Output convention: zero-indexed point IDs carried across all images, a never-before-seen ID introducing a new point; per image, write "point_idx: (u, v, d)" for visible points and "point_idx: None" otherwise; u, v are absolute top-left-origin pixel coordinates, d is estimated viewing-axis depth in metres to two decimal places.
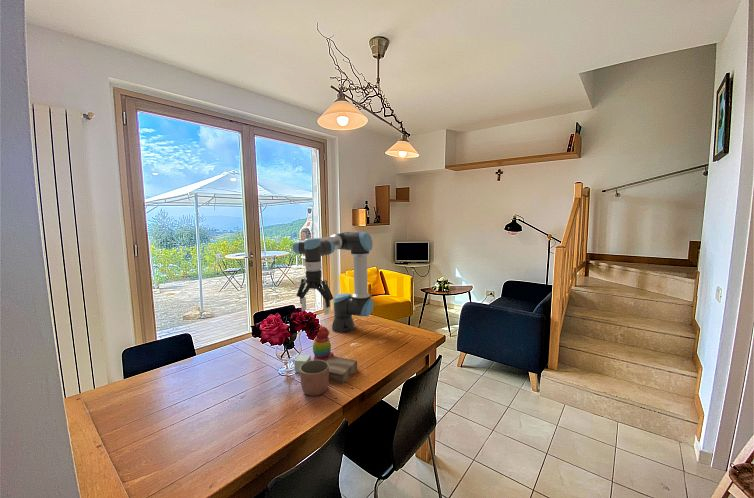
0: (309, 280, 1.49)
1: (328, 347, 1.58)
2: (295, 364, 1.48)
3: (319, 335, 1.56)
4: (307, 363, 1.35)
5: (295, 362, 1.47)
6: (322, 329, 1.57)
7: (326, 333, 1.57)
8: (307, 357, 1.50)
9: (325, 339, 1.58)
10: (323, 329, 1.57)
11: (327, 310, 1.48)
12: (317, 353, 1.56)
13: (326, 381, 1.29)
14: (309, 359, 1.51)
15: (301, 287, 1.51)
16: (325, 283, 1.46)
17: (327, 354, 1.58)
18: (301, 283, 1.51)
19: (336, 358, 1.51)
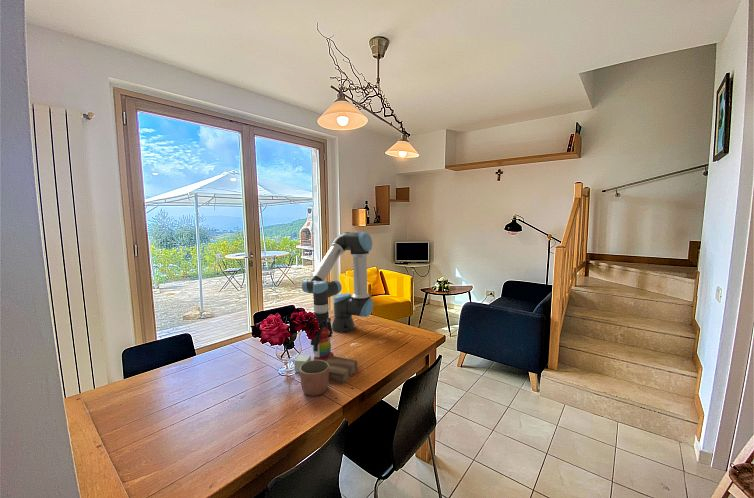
0: None
1: (328, 347, 1.58)
2: (295, 364, 1.48)
3: None
4: (307, 363, 1.35)
5: (295, 362, 1.47)
6: None
7: (326, 333, 1.57)
8: (307, 357, 1.50)
9: (325, 339, 1.58)
10: (323, 329, 1.58)
11: (317, 354, 1.56)
12: None
13: (326, 381, 1.29)
14: (309, 359, 1.51)
15: None
16: None
17: (327, 354, 1.58)
18: None
19: (336, 358, 1.51)
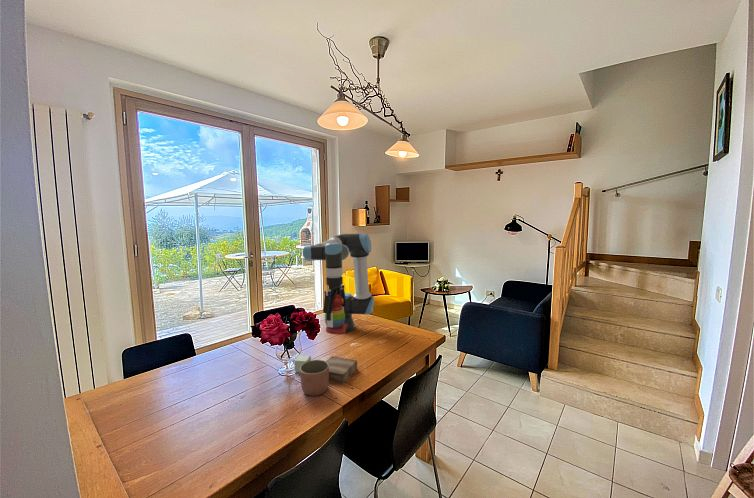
0: None
1: (342, 316, 1.40)
2: (295, 364, 1.48)
3: None
4: (307, 363, 1.35)
5: (295, 362, 1.47)
6: None
7: (340, 300, 1.40)
8: (307, 357, 1.50)
9: (339, 307, 1.40)
10: (337, 296, 1.40)
11: (329, 323, 1.38)
12: None
13: (326, 381, 1.29)
14: (309, 359, 1.51)
15: None
16: (326, 294, 1.35)
17: (341, 324, 1.41)
18: None
19: (336, 358, 1.51)
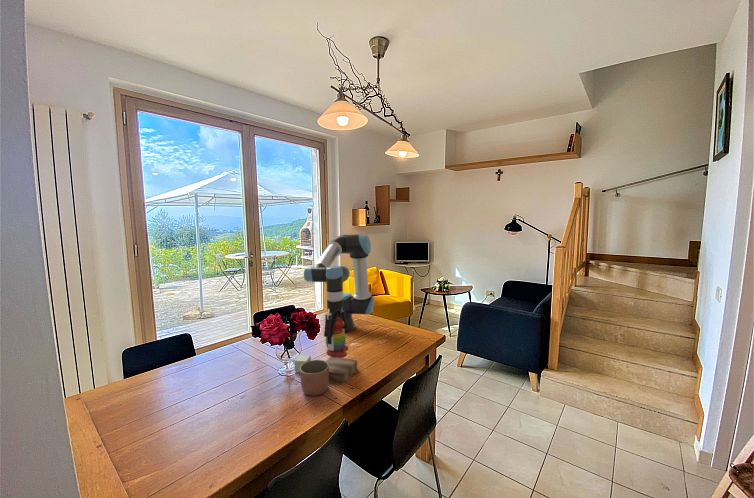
0: None
1: (343, 339, 1.42)
2: (295, 364, 1.48)
3: None
4: (307, 363, 1.35)
5: (295, 362, 1.47)
6: None
7: (341, 324, 1.41)
8: (307, 357, 1.50)
9: (339, 330, 1.41)
10: (337, 319, 1.41)
11: (330, 347, 1.39)
12: None
13: (326, 381, 1.29)
14: (309, 359, 1.51)
15: None
16: (327, 318, 1.37)
17: (342, 347, 1.42)
18: None
19: (336, 358, 1.51)
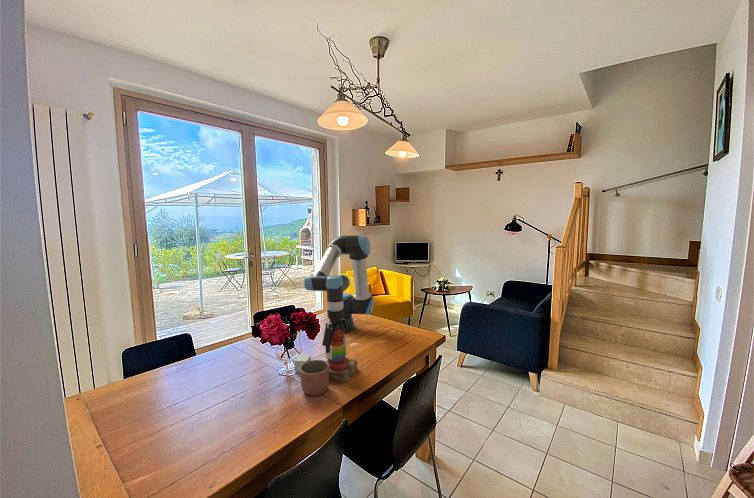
0: None
1: (344, 351, 1.43)
2: (295, 364, 1.48)
3: (333, 338, 1.41)
4: (307, 363, 1.35)
5: (295, 362, 1.47)
6: (337, 331, 1.42)
7: (342, 335, 1.42)
8: (307, 357, 1.50)
9: (340, 342, 1.42)
10: (338, 331, 1.42)
11: (329, 355, 1.38)
12: None
13: (326, 381, 1.29)
14: (309, 359, 1.51)
15: None
16: (327, 326, 1.37)
17: (342, 359, 1.43)
18: None
19: None
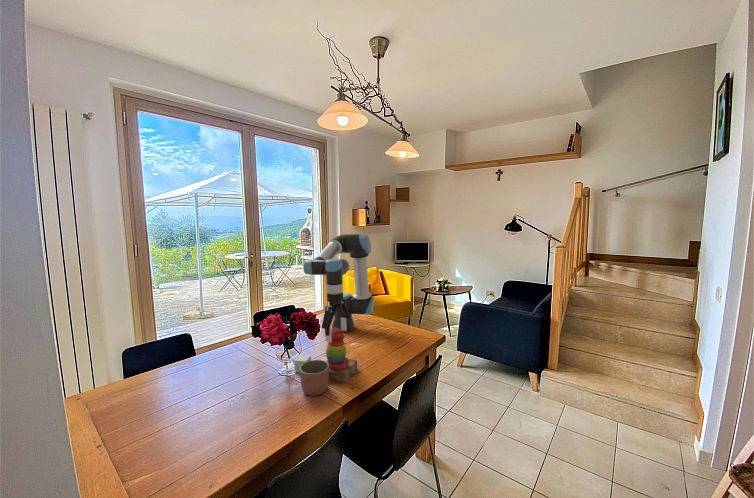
0: None
1: (343, 351, 1.42)
2: (295, 364, 1.48)
3: (333, 339, 1.41)
4: (307, 363, 1.35)
5: (295, 362, 1.47)
6: (337, 331, 1.42)
7: (341, 336, 1.42)
8: (307, 357, 1.50)
9: (340, 342, 1.42)
10: (338, 331, 1.42)
11: (328, 338, 1.37)
12: (331, 358, 1.41)
13: (326, 381, 1.29)
14: (309, 359, 1.51)
15: None
16: (326, 309, 1.36)
17: (342, 359, 1.43)
18: None
19: None
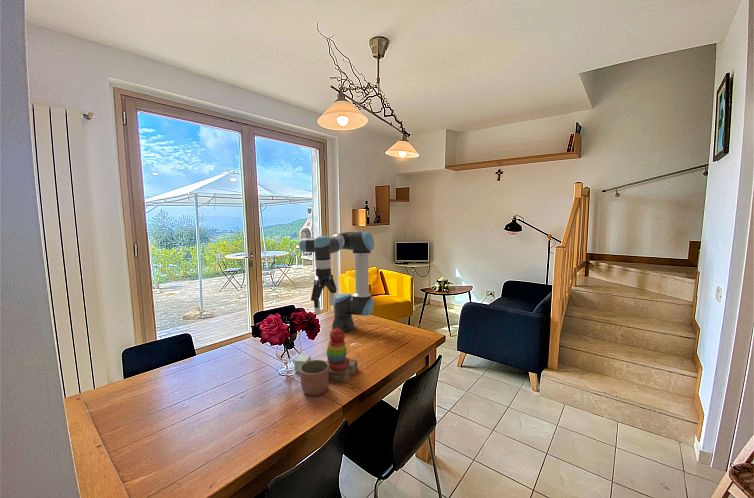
0: None
1: (344, 352, 1.42)
2: (295, 364, 1.48)
3: (334, 339, 1.40)
4: (307, 363, 1.35)
5: (295, 362, 1.47)
6: (338, 332, 1.41)
7: (342, 336, 1.41)
8: (307, 357, 1.50)
9: (341, 342, 1.42)
10: (339, 332, 1.41)
11: (317, 310, 1.46)
12: (331, 358, 1.41)
13: (326, 381, 1.29)
14: (309, 359, 1.51)
15: None
16: (315, 283, 1.45)
17: (342, 359, 1.42)
18: (328, 278, 1.57)
19: None
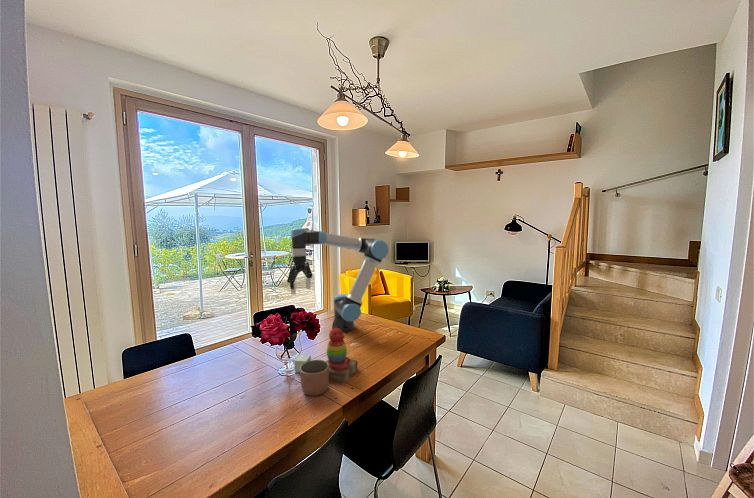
0: None
1: (343, 351, 1.42)
2: (295, 364, 1.48)
3: (333, 339, 1.41)
4: (307, 363, 1.35)
5: (295, 362, 1.47)
6: (337, 331, 1.42)
7: (341, 336, 1.42)
8: (307, 357, 1.50)
9: (340, 342, 1.42)
10: (338, 331, 1.42)
11: (293, 291, 1.71)
12: (331, 358, 1.41)
13: (326, 381, 1.29)
14: (309, 359, 1.51)
15: (305, 268, 1.83)
16: (291, 267, 1.69)
17: (342, 359, 1.42)
18: (305, 265, 1.82)
19: None
